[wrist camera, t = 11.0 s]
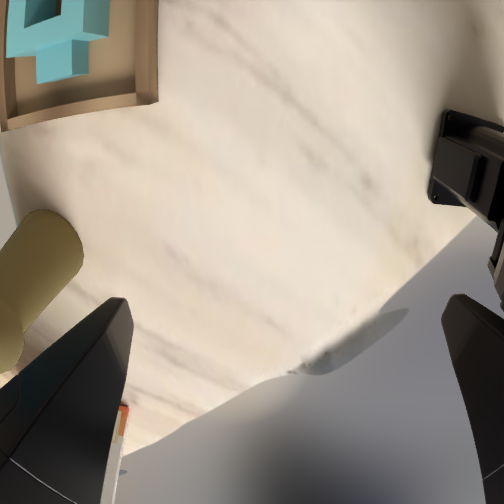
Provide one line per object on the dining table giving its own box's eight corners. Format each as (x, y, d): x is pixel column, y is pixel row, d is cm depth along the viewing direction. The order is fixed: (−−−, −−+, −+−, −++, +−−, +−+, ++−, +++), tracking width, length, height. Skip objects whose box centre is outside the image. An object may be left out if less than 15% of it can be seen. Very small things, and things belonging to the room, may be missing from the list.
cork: (11, 213, 19) (-79, 304, 9) (71, 205, 19) (-26, 314, 9) (35, 278, 22) (-30, 378, 12) (93, 279, 22) (33, 398, 12)
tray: (167, -102, 8) (161, -115, 7) (158, 101, 16) (149, 104, 14) (24, -55, 8) (10, -60, 6) (17, 125, 15) (1, 132, 14)
